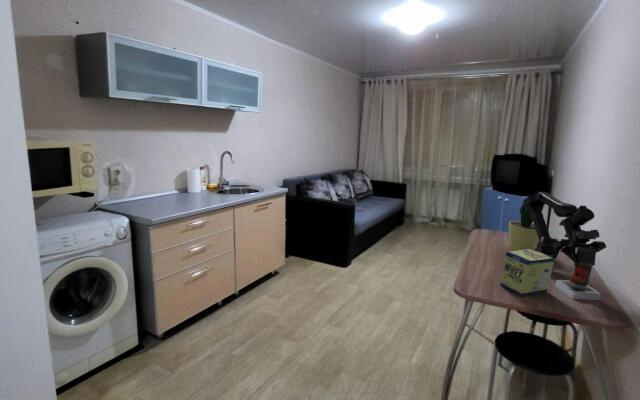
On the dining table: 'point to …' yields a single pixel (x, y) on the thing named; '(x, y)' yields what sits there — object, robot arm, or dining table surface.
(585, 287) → the collar
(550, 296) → the dining table surface
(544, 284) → the protein box
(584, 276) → the deodorant
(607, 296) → the dining table surface
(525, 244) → the potted cactus
